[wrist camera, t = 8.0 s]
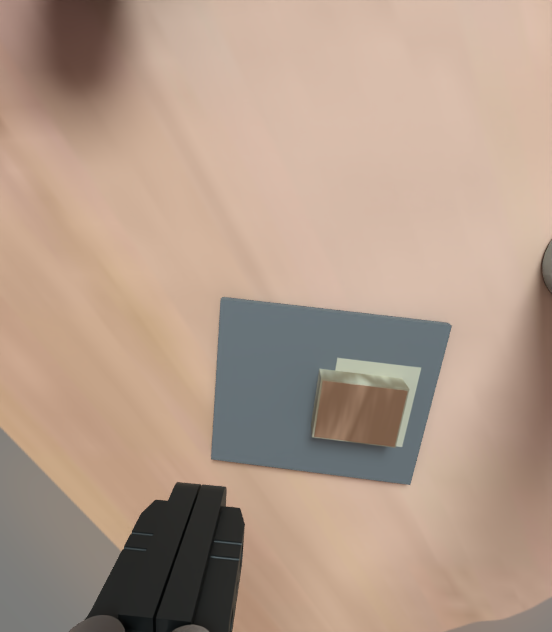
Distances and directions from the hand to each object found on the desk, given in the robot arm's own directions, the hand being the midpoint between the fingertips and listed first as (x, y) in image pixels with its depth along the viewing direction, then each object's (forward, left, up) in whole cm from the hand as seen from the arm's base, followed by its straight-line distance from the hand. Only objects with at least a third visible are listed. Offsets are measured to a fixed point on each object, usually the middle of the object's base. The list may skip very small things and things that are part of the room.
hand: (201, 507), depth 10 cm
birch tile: (-6, +10, -24) cm, 27 cm away
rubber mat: (-7, +10, -27) cm, 29 cm away
